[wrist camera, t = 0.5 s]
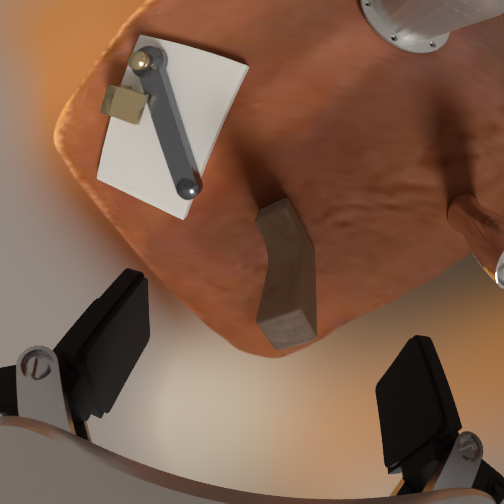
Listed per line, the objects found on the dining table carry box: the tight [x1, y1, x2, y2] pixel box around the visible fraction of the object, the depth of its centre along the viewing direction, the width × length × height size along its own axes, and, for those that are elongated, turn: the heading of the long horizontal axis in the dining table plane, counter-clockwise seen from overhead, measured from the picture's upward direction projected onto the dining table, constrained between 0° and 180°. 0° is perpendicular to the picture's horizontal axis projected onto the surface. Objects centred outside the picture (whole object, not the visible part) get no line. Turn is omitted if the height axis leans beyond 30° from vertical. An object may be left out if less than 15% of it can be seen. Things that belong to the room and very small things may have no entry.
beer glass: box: [447, 193, 504, 288], centre depth 28 cm, size 7×7×15 cm
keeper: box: [100, 51, 153, 125], centre depth 30 cm, size 9×6×5 cm, turn 156°
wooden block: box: [255, 198, 317, 350], centre depth 33 cm, size 9×4×18 cm, turn 30°
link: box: [132, 46, 203, 200], centre depth 33 cm, size 22×4×2 cm, turn 16°
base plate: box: [97, 35, 249, 220], centre depth 35 cm, size 23×16×2 cm
